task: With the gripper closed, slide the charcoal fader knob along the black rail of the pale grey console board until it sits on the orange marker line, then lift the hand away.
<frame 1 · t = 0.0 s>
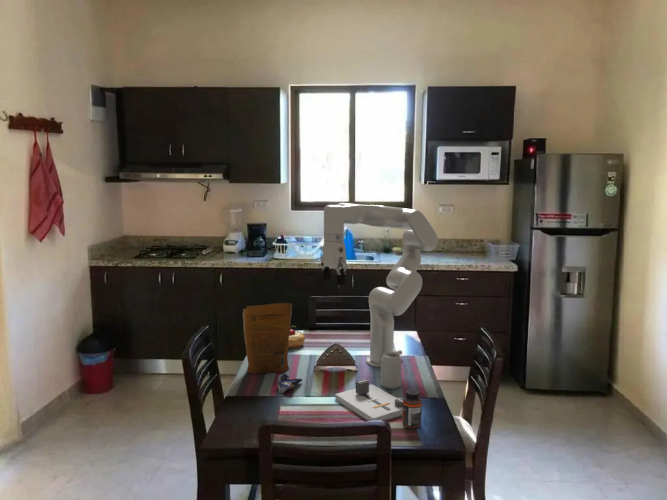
hand: (333, 282, 214), 37 cm above the table, tool pointing down, fingers open, 9 cm apart
pancake mix bag: (268, 372, 223), on the table
can: (390, 386, 209), on the table
supplement bottle: (411, 425, 179), on the table
console board: (372, 405, 193), on the table
snack package: (287, 388, 208), on the table
fader knob: (362, 386, 197), point 5 cm above the table, slide at 0.0 cm
pastry: (291, 345, 254), on the table
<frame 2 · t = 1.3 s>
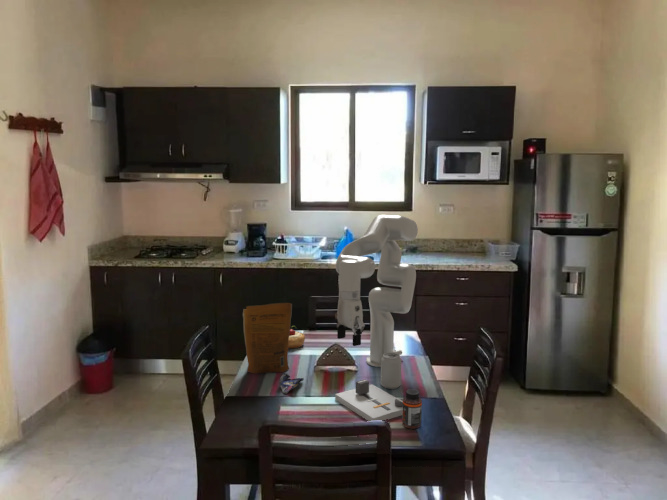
hand: (348, 341, 201), 19 cm above the table, tool pointing down, fingers open, 9 cm apart
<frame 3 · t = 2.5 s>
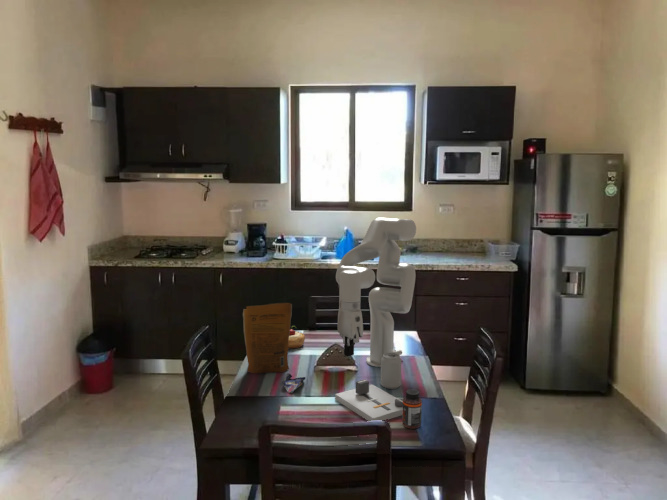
hand: (348, 355, 201), 14 cm above the table, tool pointing down, fingers closed
snack package: (293, 387, 209), on the table
everything else where it was.
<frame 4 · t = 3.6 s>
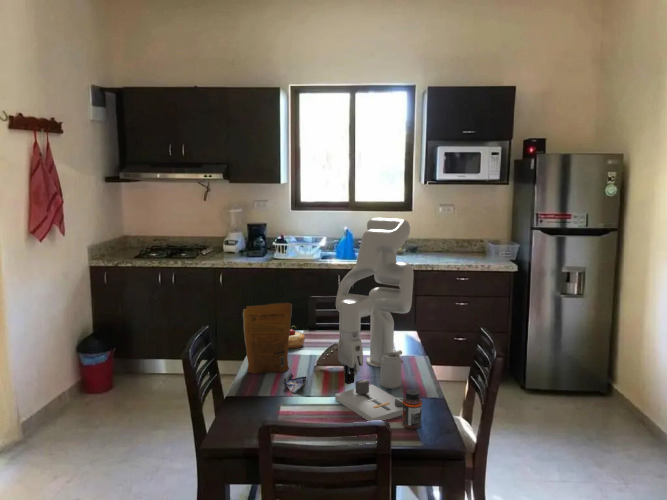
hand: (349, 382, 203), 3 cm above the table, tool pointing down, fingers closed
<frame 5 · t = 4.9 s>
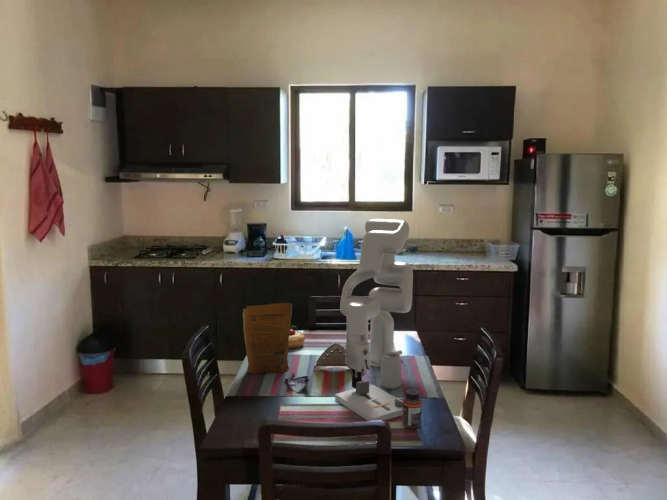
hand: (356, 387, 200), 3 cm above the table, tool pointing down, fingers closed
fader knob: (362, 387, 197), point 5 cm above the table, slide at 0.2 cm, touching gripper
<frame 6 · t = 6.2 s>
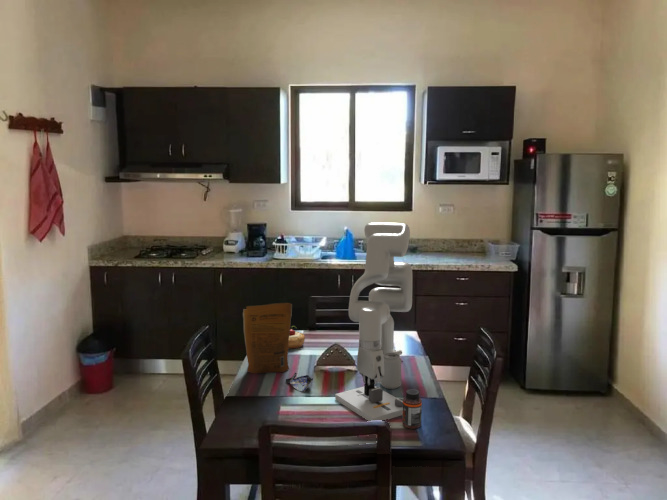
hand: (369, 394, 193), 3 cm above the table, tool pointing down, fingers closed
fader knob: (375, 394, 190), point 5 cm above the table, slide at 7.7 cm, touching gripper
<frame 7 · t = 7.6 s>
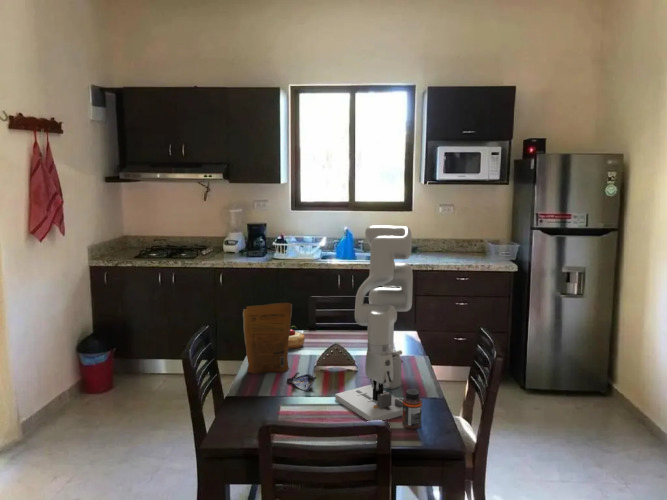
hand: (377, 399, 189), 3 cm above the table, tool pointing down, fingers closed
fader knob: (384, 399, 186), point 5 cm above the table, slide at 12.5 cm, touching gripper
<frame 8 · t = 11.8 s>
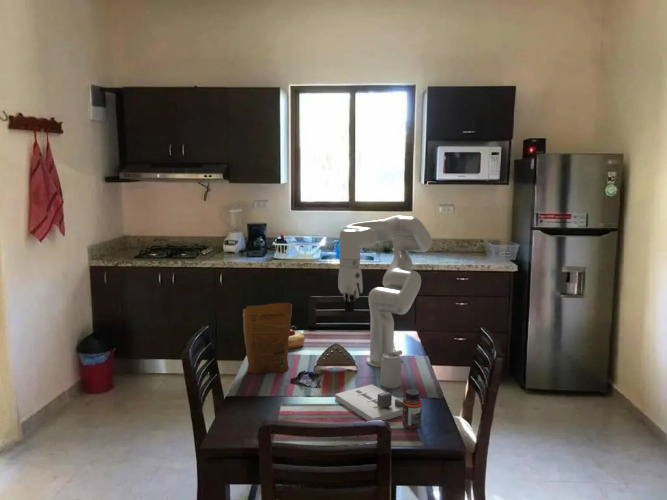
hand: (349, 311, 210), 27 cm above the table, tool pointing down, fingers closed
snack package: (306, 383, 212), on the table
fader knob: (384, 399, 186), point 5 cm above the table, slide at 12.5 cm
everything else where it was.
at the end: fader knob slide at 12.5 cm; fader knob touching nothing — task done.
